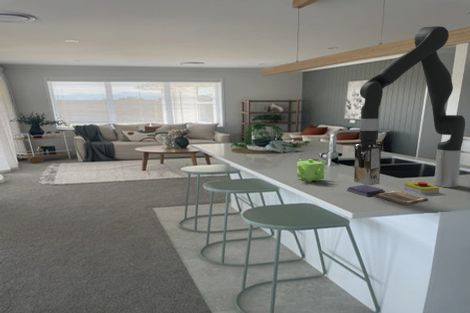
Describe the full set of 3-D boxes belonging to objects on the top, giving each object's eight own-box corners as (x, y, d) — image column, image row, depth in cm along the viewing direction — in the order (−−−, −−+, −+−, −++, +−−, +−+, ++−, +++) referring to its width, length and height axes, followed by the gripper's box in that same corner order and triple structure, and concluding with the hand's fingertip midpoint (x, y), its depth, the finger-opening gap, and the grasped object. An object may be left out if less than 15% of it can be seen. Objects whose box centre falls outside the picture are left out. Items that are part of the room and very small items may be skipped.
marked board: (396, 191, 138) (397, 190, 138) (427, 200, 126) (428, 198, 126) (374, 196, 133) (374, 194, 132) (404, 205, 120) (404, 203, 120)
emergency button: (425, 187, 131) (399, 179, 146) (424, 197, 132) (398, 188, 146) (443, 185, 133) (416, 178, 148) (442, 195, 134) (415, 187, 148)
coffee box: (380, 184, 136) (382, 147, 134) (370, 185, 133) (372, 148, 131) (363, 180, 144) (364, 145, 142) (353, 181, 141) (354, 146, 139)
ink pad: (364, 187, 146) (364, 184, 146) (384, 193, 137) (385, 189, 136) (347, 190, 142) (347, 187, 142) (366, 196, 132) (366, 192, 132)
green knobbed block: (298, 176, 173) (298, 156, 171) (324, 178, 168) (325, 157, 167) (294, 182, 159) (294, 160, 157) (323, 184, 154) (323, 162, 153)
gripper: (373, 128, 141) (371, 164, 144) (350, 129, 135) (348, 167, 138) (388, 129, 135) (385, 166, 137) (363, 130, 129) (362, 170, 131)
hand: (367, 166), depth 137 cm, fingers closed on coffee box, 6 cm apart
